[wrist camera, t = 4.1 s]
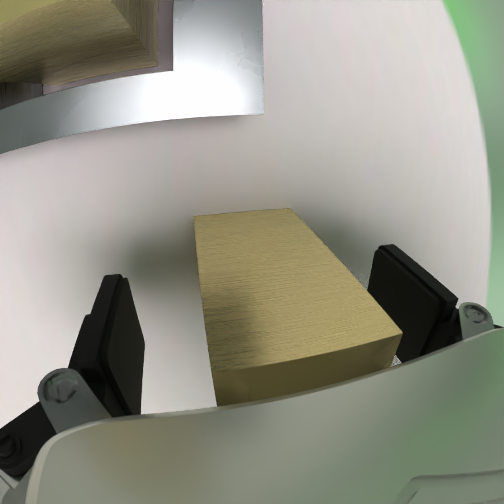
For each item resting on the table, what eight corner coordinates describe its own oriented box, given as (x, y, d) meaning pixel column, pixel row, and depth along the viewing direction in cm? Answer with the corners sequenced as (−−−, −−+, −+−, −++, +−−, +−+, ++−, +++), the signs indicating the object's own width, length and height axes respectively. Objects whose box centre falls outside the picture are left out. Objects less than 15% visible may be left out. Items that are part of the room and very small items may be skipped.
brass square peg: (290, 208, 13) (403, 333, 6) (286, 288, 15) (361, 429, 8) (193, 216, 12) (211, 372, 5) (202, 299, 14) (227, 461, 7)
